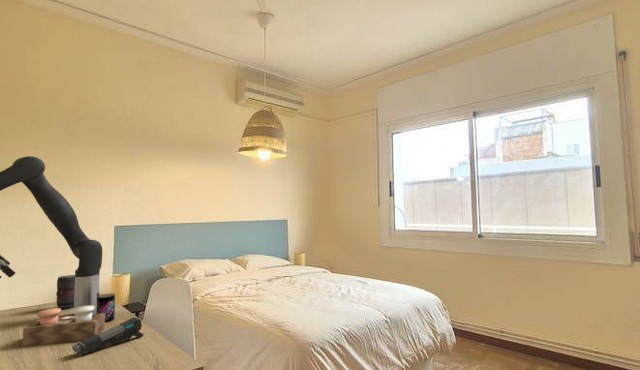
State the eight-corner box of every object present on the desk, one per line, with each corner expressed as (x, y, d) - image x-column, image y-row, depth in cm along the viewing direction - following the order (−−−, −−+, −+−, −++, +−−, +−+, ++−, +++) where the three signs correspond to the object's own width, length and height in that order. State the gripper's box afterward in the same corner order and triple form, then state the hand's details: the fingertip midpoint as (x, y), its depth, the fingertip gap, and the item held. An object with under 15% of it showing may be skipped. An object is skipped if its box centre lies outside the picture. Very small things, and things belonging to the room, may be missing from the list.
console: (104, 329, 133) (105, 312, 133) (95, 338, 123) (95, 320, 123) (38, 335, 127) (38, 318, 127) (22, 346, 117) (23, 326, 118)
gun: (147, 336, 123) (137, 312, 121) (87, 375, 108) (75, 349, 106) (141, 333, 126) (132, 310, 124) (82, 371, 111) (70, 345, 109)
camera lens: (69, 310, 160) (70, 277, 161) (51, 310, 160) (52, 278, 160) (81, 305, 168) (81, 274, 169) (64, 305, 168) (65, 274, 169)
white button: (96, 323, 131) (97, 304, 131) (90, 329, 124) (90, 309, 125) (77, 325, 129) (77, 306, 129) (69, 331, 123) (69, 311, 123)
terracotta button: (63, 326, 128) (64, 307, 128) (55, 332, 121) (55, 312, 122) (43, 328, 126) (43, 309, 127) (33, 334, 120) (33, 314, 120)
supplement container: (91, 323, 140) (92, 297, 141) (103, 317, 147) (104, 293, 148) (107, 323, 139) (107, 297, 140) (118, 318, 146) (119, 293, 147)
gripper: (-37, 239, 113) (3, 272, 116) (-9, 236, 127) (26, 266, 129) (-58, 256, 112) (-18, 289, 114) (-27, 251, 125) (8, 281, 127)
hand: (5, 277), depth 121 cm, fingers open, 8 cm apart
